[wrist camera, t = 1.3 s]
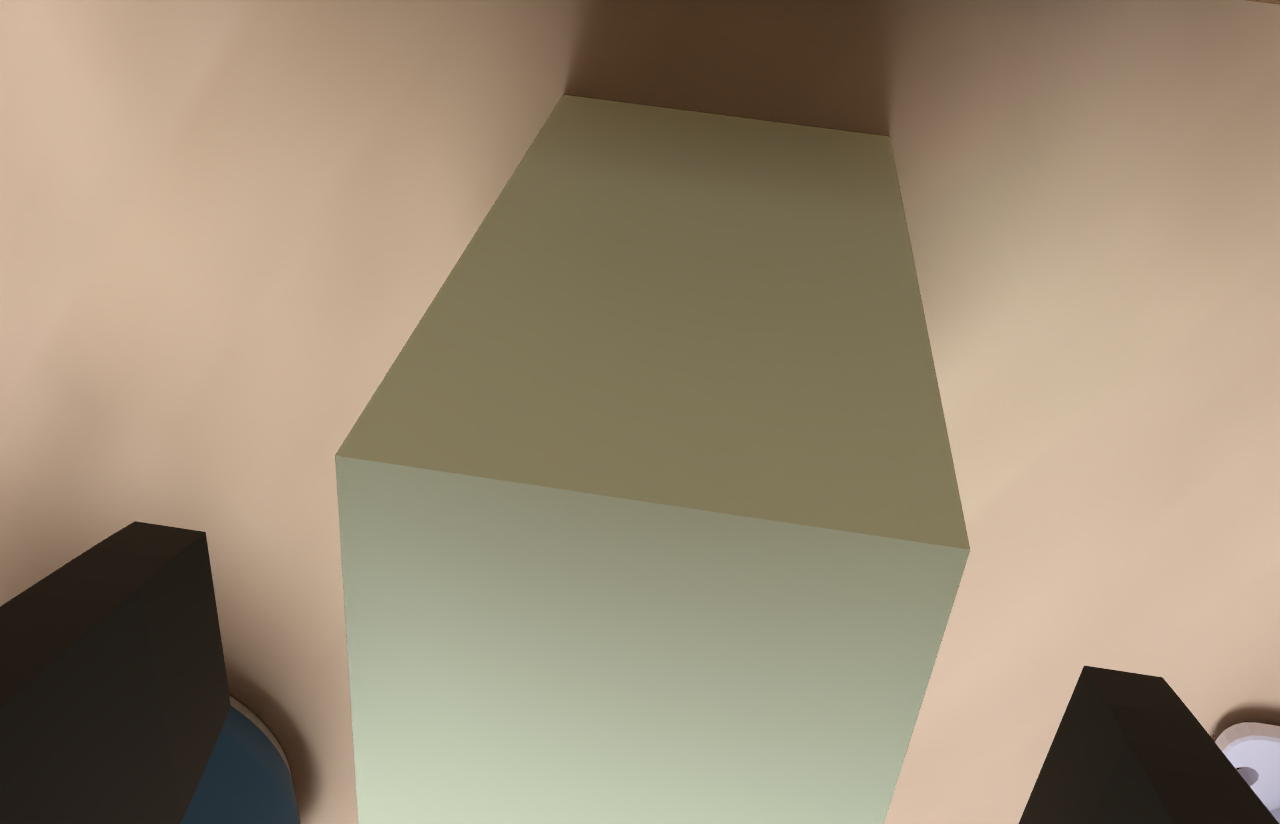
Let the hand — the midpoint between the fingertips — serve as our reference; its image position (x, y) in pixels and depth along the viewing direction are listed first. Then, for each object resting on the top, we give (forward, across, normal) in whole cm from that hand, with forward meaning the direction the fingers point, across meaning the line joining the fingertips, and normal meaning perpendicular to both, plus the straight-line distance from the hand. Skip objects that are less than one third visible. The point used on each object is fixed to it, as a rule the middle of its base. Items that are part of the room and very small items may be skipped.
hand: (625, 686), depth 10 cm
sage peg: (+9, 0, 0) cm, 9 cm away
